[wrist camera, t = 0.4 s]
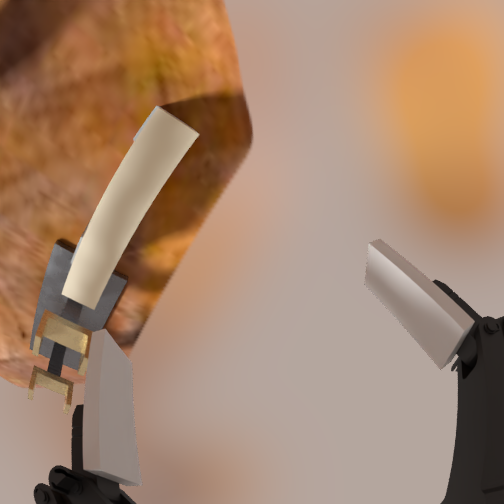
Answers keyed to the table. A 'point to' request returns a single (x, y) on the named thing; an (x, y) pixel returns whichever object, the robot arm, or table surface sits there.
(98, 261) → the beige long block
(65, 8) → the table surface
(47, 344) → the bracket stand
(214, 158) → the table surface
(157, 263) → the table surface
